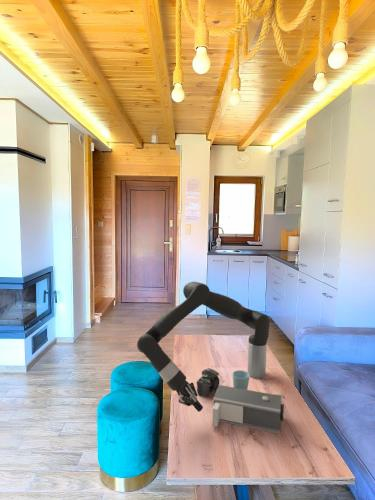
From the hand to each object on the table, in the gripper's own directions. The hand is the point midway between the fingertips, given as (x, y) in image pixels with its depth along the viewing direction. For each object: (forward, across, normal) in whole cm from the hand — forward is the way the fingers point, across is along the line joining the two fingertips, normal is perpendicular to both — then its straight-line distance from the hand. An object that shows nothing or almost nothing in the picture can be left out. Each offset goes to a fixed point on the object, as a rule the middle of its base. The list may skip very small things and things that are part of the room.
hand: (201, 409), depth 125 cm
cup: (+13, +25, -4) cm, 28 cm away
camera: (+2, +25, +7) cm, 26 cm away
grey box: (+16, +10, -8) cm, 20 cm away
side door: (+11, +2, -4) cm, 12 cm away
